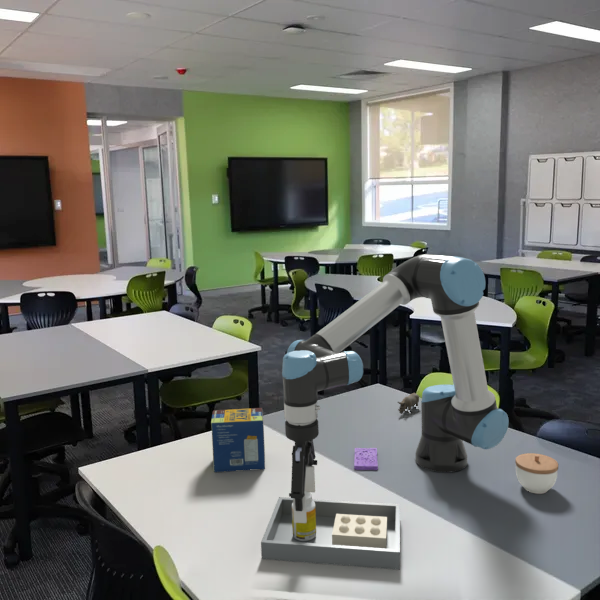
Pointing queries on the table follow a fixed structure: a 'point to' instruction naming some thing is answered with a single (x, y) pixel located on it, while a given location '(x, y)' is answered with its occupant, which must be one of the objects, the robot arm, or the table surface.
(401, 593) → the table surface
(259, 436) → the protein box
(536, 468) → the lidded jar
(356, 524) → the egg carton
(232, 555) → the table surface
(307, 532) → the supplement bottle
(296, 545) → the tray
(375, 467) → the sponges
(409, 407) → the rhino figurine
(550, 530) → the table surface
